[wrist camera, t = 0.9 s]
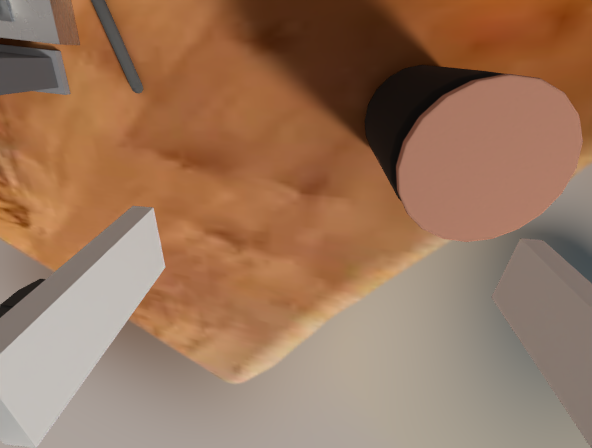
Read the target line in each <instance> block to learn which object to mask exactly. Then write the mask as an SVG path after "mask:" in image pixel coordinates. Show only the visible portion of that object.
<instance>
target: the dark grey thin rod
mask: <svg viewBox="0 0 592 448" xmlns="http://www.w3.org/2000/svg"><path fill="white" fill-rule="evenodd" d="M91 1H92V3H93V5H94V8H95V10H96V12H97V14H98V16H99V18H100V21H101V23H102V25H103V27H104V29H105V32H106V34H107V36H108V38H109V40H110V42H111V45H112V47H113V49H114V51H115V53H116V56H117V58H118V60H119V62H120V64H121V66H122V69H123V71H124V73H125V75H126V77H127V80H128V82H129V84H130V86H131V88H132V90H133V91H134V92H135V93H141V92H142V91H143V86H142V83H141V81H140V79H139V76H138V74H137V72H136V70H135V67H134V65H133V63H132V61H131V58H130V56H129V54H128V52H127V49H126V47H125V45H124V43H123V40H122V38H121V36H120V33H119V31H118V29H117V27H116V24H115V22H114V20H113V18H112V15H111V13H110V11H109V9H108V6H107V4H106V2H105V0H91Z"/></svg>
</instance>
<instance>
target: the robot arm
mask: <svg viewBox="0 0 592 448" xmlns="http://www.w3.org/2000/svg"><path fill="white" fill-rule="evenodd" d="M164 268H165V263H164V258H163V253H162V248H161V243H160V238H159V233H158V228H157V223H156V218H155V213H154V208H152V207H140V206H132V207H131V208H130V209H129V210H128V211H126V212H125V213H124V214H123V215H122V216H120V217H119V218H118V219H117V220H116V221H115V222H113V223H112V224H111V225H110V226H109V227H107V228H106V229H105V230H104V231H103V232H101V233H100V234H99V235H98V236H97V237H96V238H94V239H93V240H92V241H91V242H90V243H88V244H87V245H86V246H85V247H84V248H83V249H81V250H80V251H79V252H78V253H77V254H75V255H74V256H73V257H72V258H71V259H70V260H68V261H67V262H66V263H65V264H64V265H62V266H61V267H60V268H59V269H58V270H56V271H55V272H54V273H53V274H52V275H51V276H49V277H48V278H47V279H39V280H37V281H35V282H33V283H31V284H30V285H28V286H26V287H24V288H22V289H20V290H18V291H17V292H16V293H14V294H13V295H12V296H11V297H9V298H8V299H7V300H6V301H5V302H3V303H2V304H1V305H0V440H1V441H2V442H3V443H4V444H7V445H16V446H24V447H33V448H37V446H38V445H39V444H40V442H41V441H42V439H43V438H44V437H45V435H46V434H47V432H48V431H49V430H50V428H51V427H52V425H53V424H54V423H55V421H56V420H57V418H58V417H59V415H60V414H61V413H62V411H63V410H64V409H65V407H66V406H67V404H68V403H69V401H70V400H71V399H72V397H73V396H74V394H75V393H76V392H77V390H78V389H79V388H80V386H81V385H82V383H83V382H84V381H85V379H86V378H87V376H88V375H89V374H90V372H91V371H92V369H93V368H94V366H95V365H96V364H97V362H98V361H99V359H100V358H101V357H102V355H103V354H104V353H105V351H106V350H107V348H108V347H109V346H110V344H111V343H112V341H113V340H114V338H115V337H116V336H117V334H118V333H119V331H120V330H121V329H122V327H123V326H124V324H125V323H126V322H127V320H128V319H129V317H130V316H131V315H132V313H133V312H134V310H135V309H136V308H137V306H138V305H139V303H140V302H141V301H142V299H143V298H144V296H145V295H146V294H147V292H148V291H149V289H150V288H151V287H152V285H153V284H154V282H155V281H156V280H157V278H158V277H159V275H160V274H161V273H162V271H163V270H164ZM492 299H493V300H494V302H495V303H496V305H497V306H498V308H499V309H500V311H501V312H502V314H503V316H504V317H505V318H506V320H507V322H508V323H509V325H510V326H511V328H512V329H513V331H514V332H515V333H516V335H517V337H518V338H519V340H520V341H521V343H522V344H523V346H524V347H525V349H526V350H527V352H528V353H529V355H530V356H531V358H532V359H533V361H534V362H535V364H536V365H537V367H538V368H539V370H540V371H541V373H542V374H543V376H544V377H545V379H546V380H547V382H548V383H549V385H550V386H551V388H552V389H553V391H554V392H555V394H556V395H557V397H558V399H559V400H560V402H561V403H562V405H563V406H564V407H565V409H566V410H567V412H568V414H569V415H570V417H571V418H572V420H573V421H574V423H575V424H576V426H577V427H578V429H579V430H580V431H581V433H582V435H583V436H584V438H585V439H586V440H587V442H588V444H589V445H590V447H591V448H592V284H591V283H590V282H589V281H588V280H587V279H586V278H585V277H583V276H582V275H581V274H580V273H579V272H578V271H577V270H576V269H574V268H573V267H572V266H571V265H570V264H569V263H568V262H567V261H566V260H564V259H563V258H562V257H561V256H560V255H559V254H557V252H555V251H554V250H553V249H552V248H551V247H550V246H549V245H548V244H546V243H545V242H544V241H543V240H532V239H520V240H519V243H518V244H517V246H516V248H515V251H514V253H513V255H512V257H511V259H510V261H509V263H508V265H507V267H506V269H505V271H504V273H503V275H502V277H501V279H500V281H499V283H498V285H497V287H496V289H495V291H494V293H493V295H492Z"/></svg>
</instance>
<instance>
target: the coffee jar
mask: <svg viewBox="0 0 592 448" xmlns="http://www.w3.org/2000/svg"><path fill="white" fill-rule="evenodd" d="M365 131H366V137H367V140H368V142H369V144H370V146H371V149H372V151H373V152H374V154H375V156H376V158H377V160H378V162H379V163H380V165H381V167H382V169H383V171H384V173H385V174H386V176H387V178H388V180H389V182H390V184H391V185H392V187H393V189H394V191H395V193H396V195H397V196H398V198H399V199H400V200H401V201H402V203H403V205H404V208H405V210H406V212H407V214H408V215H409V216H410V217H411V218H412V219H413V220H414V221H415V222H416V223H417V224H418V225H419V226H420V227H421V228H422V229H424V230H426V231H428V232H430V233H432V234H434V235H437V236H439V237H441V238H443V239H450V240H457V241H464V242H469V241H478V240H486V239H493V238H495V237H498V236H501V235H503V234H506V233H509V232H512V231H514V230H517V229H519V228H520V227H522V226H523V225H525V224H527V223H528V222H530V221H531V220H533V219H534V218H536V217H538V216H539V215H541V214H542V213H543V212H544V211H545V210H546V209H547V208H548V207H549V206H550V205H551V204H552V203H553V202H554V201H555V200H556V199H557V198H558V197H559V195H561V194H562V192H563V190H564V189H565V187H566V185H567V184H568V182H569V180H570V178H571V177H572V175H573V173H574V172H575V170H576V168H577V164H578V159H579V155H580V151H581V146H582V142H583V140H582V133H581V126H580V119H579V114H578V113H577V111H576V110H575V108H574V107H573V105H572V104H571V102H570V101H569V99H568V98H567V96H566V95H565V93H564V92H562V91H561V90H559V89H557V88H555V87H554V86H552V85H550V84H549V83H547V82H545V81H544V80H542V79H540V78H534V77H527V76H520V75H513V74H502V73H495V72H488V71H478V70H468V69H458V68H448V67H438V66H428V65H419V66H414V67H409V68H405V69H403V70H401V71H399V72H397V73H396V74H394V75H392V76H390V77H389V78H388V79H387V80H386V81H385V82H384V83H383V84H382V85H381V86H380V87H379V88H378V89H377V90H376V92H375V94H374V95H373V97H372V99H371V101H370V103H369V104H368V108H367V112H366V117H365Z"/></svg>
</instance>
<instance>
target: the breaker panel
mask: <svg viewBox="0 0 592 448" xmlns="http://www.w3.org/2000/svg"><path fill="white" fill-rule="evenodd" d="M0 38H9V39H17V40H26V41H35V42H44V43H52V44H64V45H80V42H79V37H78V32H77V27H76V22H75V17H74V13H73V8H72V3H71V0H0Z"/></svg>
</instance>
